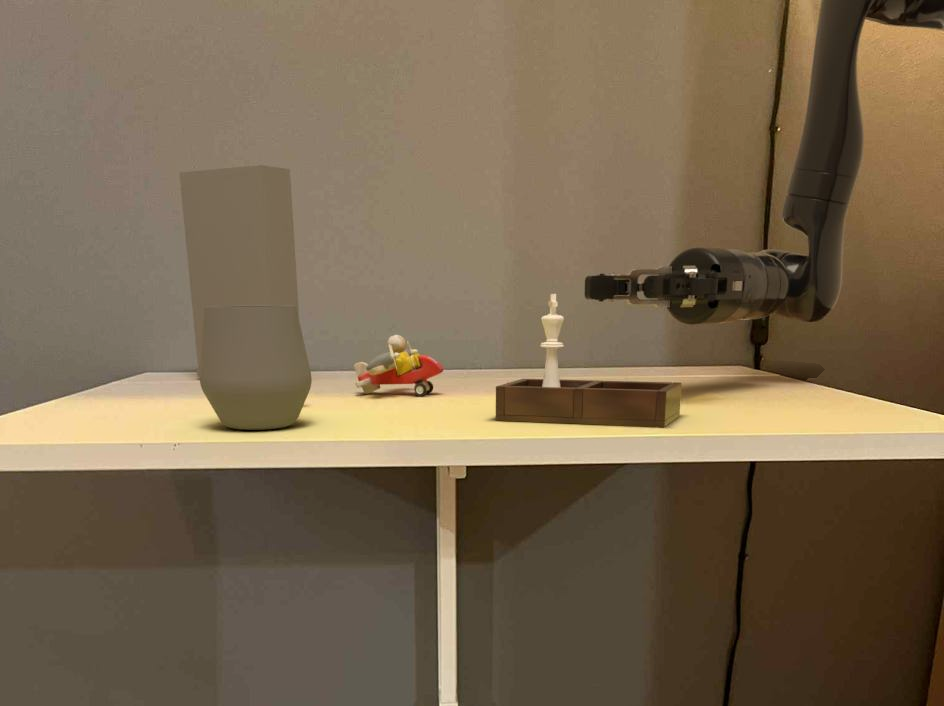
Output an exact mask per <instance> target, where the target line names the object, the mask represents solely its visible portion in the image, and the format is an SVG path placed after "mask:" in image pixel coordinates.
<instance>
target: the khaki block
mask: <svg viewBox="0 0 944 706" xmlns="http://www.w3.org/2000/svg"><path fill="white" fill-rule="evenodd" d="M291 181H292V180H291V169H290V168H284V167H278V166H271V165H263V164H262V165H261V164H260V165H259V164H258V165H248V166H237V167H236V166H235V167H227V168H225V167H223V168H214V169H205V170H203V169H202V170H192V171H181V172H180V171H179V185H180V194H181V204H182V214H183V215H182V216H183V226H184V236H185V247H186V257H187V269H188V277H189V278H188V279H189V286H190V287H189V288H190V297H191V299H190V300H191V308H192V318H193V328H194V339H195V340H194V341H195V350H196V351H195V352H196V360H197V367H196V376H197V378H200V365H201V351H202V336H203V322H204V307H206V306H239V305H294V306H296V309H297V313H298V318H299V319H300V309H299V295H298V294H299V293H298V280H297V279H298V277H297V263H296V262H297V261H296V260H297V259H296V246H295V245H296V244H295V231H294V215H293V198H292V183H291Z"/></svg>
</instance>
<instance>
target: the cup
mask: <svg viewBox="0 0 944 706" xmlns="http://www.w3.org/2000/svg"><path fill="white" fill-rule="evenodd" d="M312 379H313V378H312V372H311V368H310V363H309V358H308V354H307V350H306V346H305V340H304V336H303V332H302V328H301V323H300V317H299V318H298V313H297V309H296V306H294V305H239V306H206V307H204V322H203V336H202V351H201V365H200V377H199V384H200V388H201V390H202V393H203V394H204V396H205V398H206V399H207V401H208V403H209V404H210V406H211V408H212V409H213V411H214V413H215V414H216V416H217V417H218V419H219V421H220V422H221V424H222V425H224V427H227V428H230V429H234V430H241V431H242V430H243V431H266V430H276V429H283V428H286V427H290V426H292V425H294V424H295V423H296V422H297V420H298V419H299V417H300V414H301V412H302V410H303V408H304V405H305V403H306V400H307V398H308V396H309V393H310V390H311V388H312V382H313V381H312Z"/></svg>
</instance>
